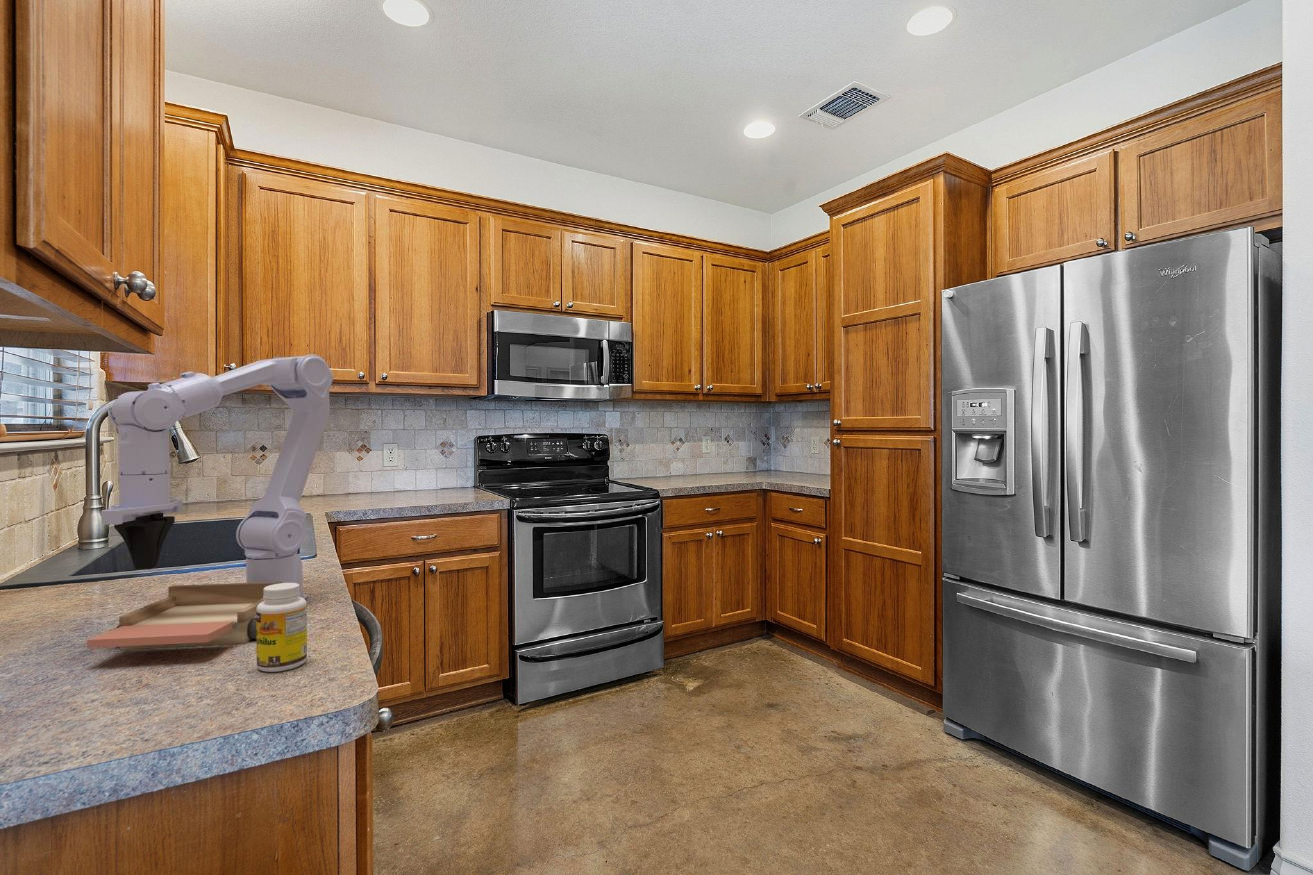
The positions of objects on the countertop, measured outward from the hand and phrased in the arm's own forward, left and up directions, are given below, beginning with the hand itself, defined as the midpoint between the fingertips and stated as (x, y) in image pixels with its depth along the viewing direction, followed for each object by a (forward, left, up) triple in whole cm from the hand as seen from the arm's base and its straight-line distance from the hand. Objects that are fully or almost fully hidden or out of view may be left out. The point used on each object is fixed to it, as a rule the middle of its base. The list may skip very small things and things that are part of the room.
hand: (145, 568), depth 91 cm
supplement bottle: (+14, +24, -11) cm, 30 cm away
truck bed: (-2, +7, -10) cm, 13 cm away
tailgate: (+5, +7, -7) cm, 11 cm away
